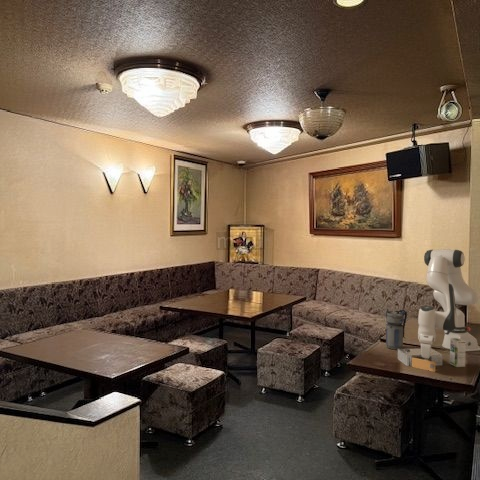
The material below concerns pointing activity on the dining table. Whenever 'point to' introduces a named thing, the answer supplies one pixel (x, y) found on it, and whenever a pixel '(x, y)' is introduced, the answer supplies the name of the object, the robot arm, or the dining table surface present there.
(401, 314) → the beverage bottle
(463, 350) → the syrup box
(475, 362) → the dining table surface
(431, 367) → the side door
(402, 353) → the grey box
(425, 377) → the dining table surface
